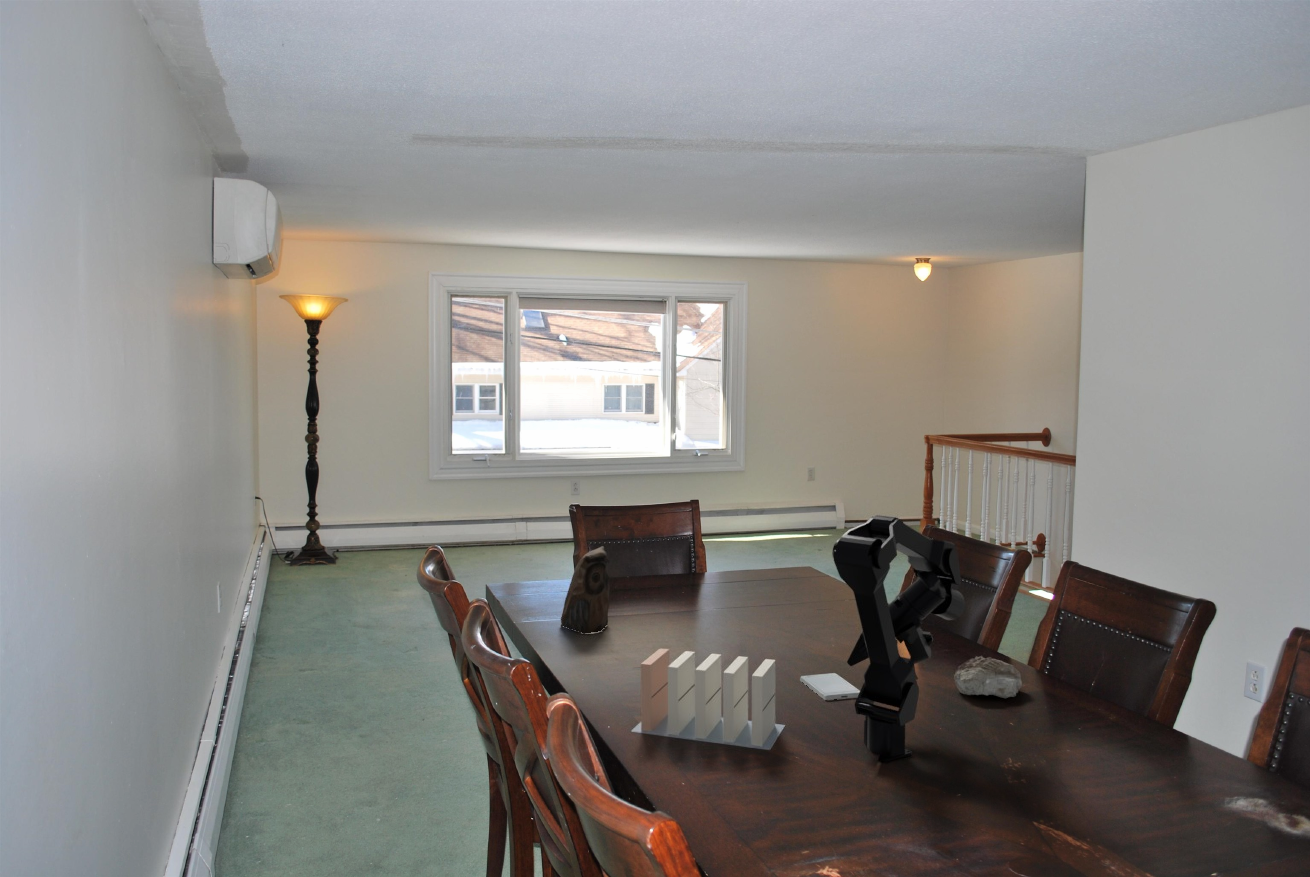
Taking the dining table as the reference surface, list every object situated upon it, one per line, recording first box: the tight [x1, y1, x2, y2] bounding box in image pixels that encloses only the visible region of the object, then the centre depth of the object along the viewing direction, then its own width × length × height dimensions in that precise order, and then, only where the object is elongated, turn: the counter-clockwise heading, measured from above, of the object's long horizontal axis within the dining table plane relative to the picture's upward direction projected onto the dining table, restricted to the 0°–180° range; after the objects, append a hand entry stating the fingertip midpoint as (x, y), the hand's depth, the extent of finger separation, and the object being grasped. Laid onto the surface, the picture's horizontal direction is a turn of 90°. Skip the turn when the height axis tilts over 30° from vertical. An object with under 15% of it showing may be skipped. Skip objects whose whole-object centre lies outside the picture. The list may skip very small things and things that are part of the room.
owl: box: [560, 545, 611, 633], centre depth 239 cm, size 13×13×20 cm
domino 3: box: [695, 653, 722, 739], centre depth 169 cm, size 2×10×12 cm, turn 160°
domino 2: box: [668, 650, 696, 735], centre depth 170 cm, size 2×10×12 cm, turn 160°
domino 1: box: [640, 648, 670, 732], centre depth 172 cm, size 2×10×12 cm, turn 160°
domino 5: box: [751, 658, 777, 746], centre depth 165 cm, size 2×10×12 cm, turn 160°
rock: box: [953, 655, 1023, 699], centre depth 190 cm, size 14×9×10 cm
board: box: [631, 715, 786, 751], centre depth 169 cm, size 25×12×1 cm, turn 70°
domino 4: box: [722, 655, 749, 743], centre depth 167 cm, size 2×10×12 cm, turn 160°
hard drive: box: [799, 672, 861, 701], centre depth 193 cm, size 2×8×12 cm
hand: (851, 659), depth 174 cm, fingers open, 6 cm apart
